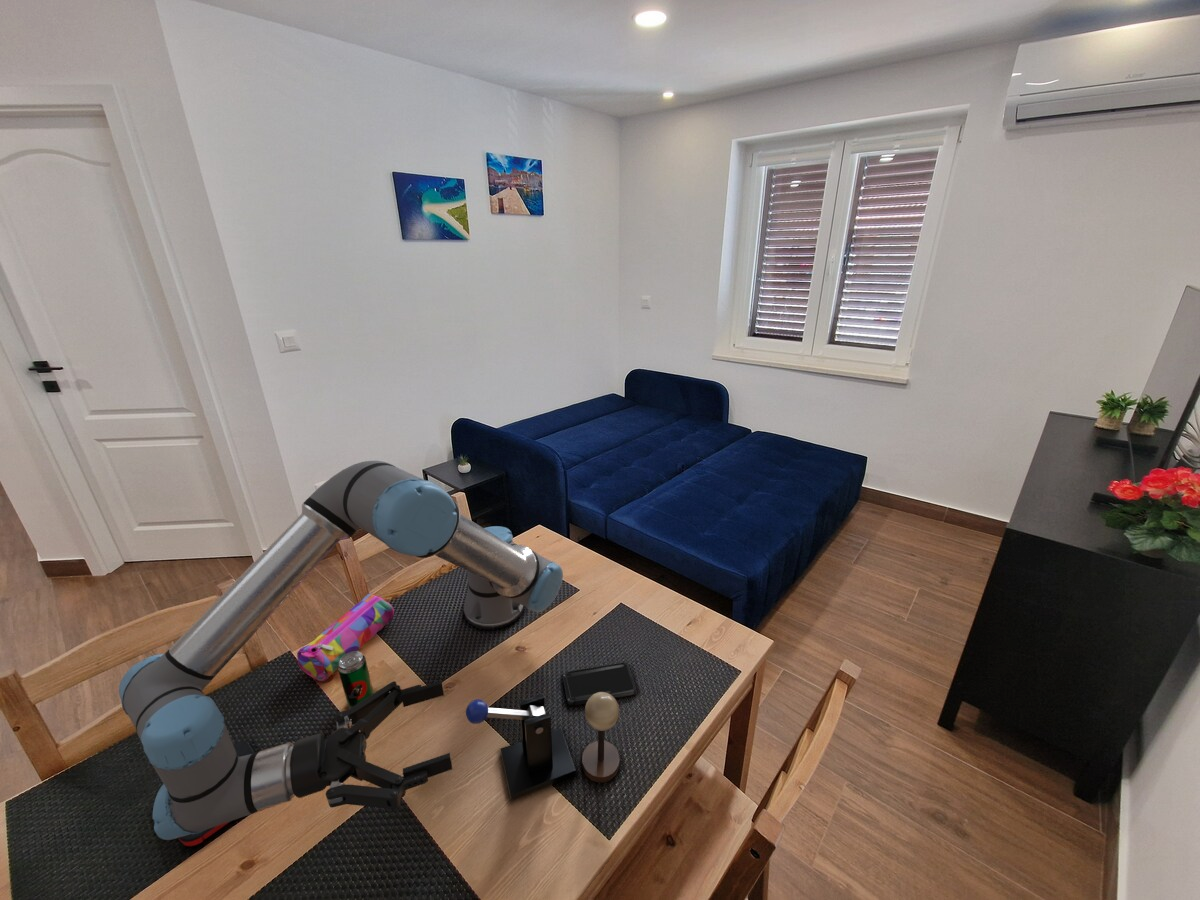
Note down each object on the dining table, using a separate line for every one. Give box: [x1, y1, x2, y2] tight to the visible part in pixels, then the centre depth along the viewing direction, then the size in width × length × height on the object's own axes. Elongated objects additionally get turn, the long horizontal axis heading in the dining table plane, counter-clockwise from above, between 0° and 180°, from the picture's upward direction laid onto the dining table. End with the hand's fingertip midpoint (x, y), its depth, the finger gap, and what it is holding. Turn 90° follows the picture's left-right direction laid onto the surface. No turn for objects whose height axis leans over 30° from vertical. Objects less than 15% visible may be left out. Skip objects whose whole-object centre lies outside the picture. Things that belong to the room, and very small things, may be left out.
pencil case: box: [296, 593, 395, 682], centre depth 112 cm, size 22×9×9 cm, turn 160°
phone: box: [562, 662, 637, 707], centre depth 106 cm, size 8×1×15 cm
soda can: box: [337, 650, 375, 709], centre depth 99 cm, size 5×5×12 cm
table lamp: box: [581, 692, 621, 784], centre depth 87 cm, size 7×7×17 cm
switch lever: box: [465, 698, 546, 725], centre depth 82 cm, size 14×4×4 cm, turn 113°
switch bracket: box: [500, 693, 577, 801], centre depth 87 cm, size 12×9×15 cm
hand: (446, 721), depth 78 cm, fingers open, 13 cm apart
